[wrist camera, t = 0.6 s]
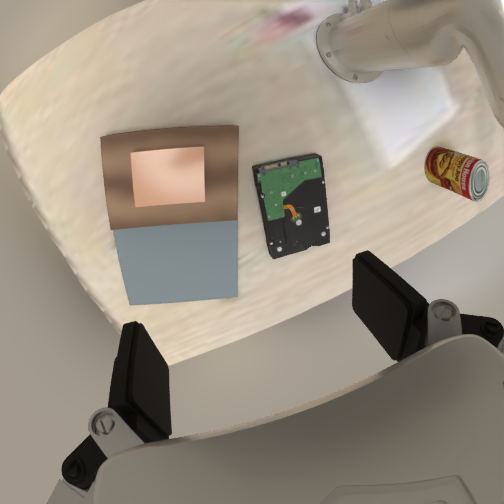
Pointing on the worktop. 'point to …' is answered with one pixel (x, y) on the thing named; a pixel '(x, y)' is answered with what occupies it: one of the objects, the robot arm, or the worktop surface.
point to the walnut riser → (212, 210)
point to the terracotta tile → (168, 176)
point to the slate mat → (179, 262)
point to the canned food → (457, 172)
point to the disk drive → (293, 204)
